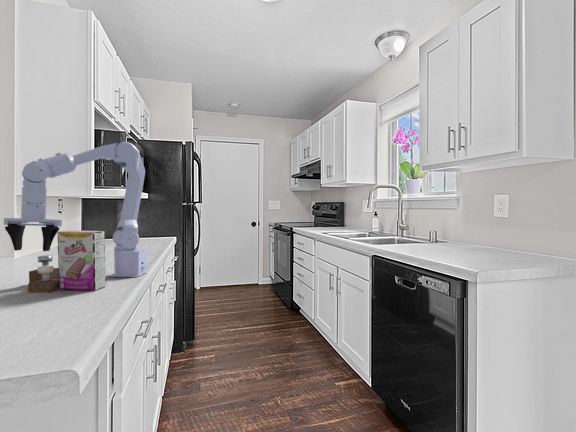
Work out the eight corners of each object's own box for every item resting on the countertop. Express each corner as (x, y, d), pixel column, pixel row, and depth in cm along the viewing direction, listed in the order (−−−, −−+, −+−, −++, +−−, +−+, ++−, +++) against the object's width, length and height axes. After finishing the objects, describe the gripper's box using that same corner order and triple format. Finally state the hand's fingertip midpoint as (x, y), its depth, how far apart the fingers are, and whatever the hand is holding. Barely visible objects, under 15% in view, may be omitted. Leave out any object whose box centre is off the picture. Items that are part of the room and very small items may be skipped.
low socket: (62, 287, 98) (62, 279, 98) (48, 292, 93) (48, 283, 93) (43, 287, 98) (43, 278, 98) (28, 292, 93) (28, 283, 93)
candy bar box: (57, 290, 95) (55, 231, 95) (70, 286, 100) (69, 230, 100) (95, 291, 94) (94, 231, 94) (106, 287, 99) (105, 230, 99)
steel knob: (55, 275, 104) (55, 255, 103) (47, 278, 100) (46, 257, 100) (44, 275, 104) (43, 255, 104) (35, 278, 100) (34, 257, 100)
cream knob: (56, 280, 97) (56, 265, 97) (47, 283, 94) (47, 268, 93) (44, 280, 97) (43, 265, 97) (34, 283, 94) (34, 268, 94)
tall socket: (61, 282, 105) (61, 267, 105) (48, 286, 99) (47, 271, 99) (43, 282, 105) (43, 267, 105) (29, 286, 99) (28, 271, 99)
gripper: (-4, 202, 95) (-6, 251, 95) (53, 204, 97) (51, 252, 97) (13, 203, 102) (12, 248, 102) (66, 205, 104) (64, 250, 104)
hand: (32, 250), depth 100 cm, fingers open, 7 cm apart
